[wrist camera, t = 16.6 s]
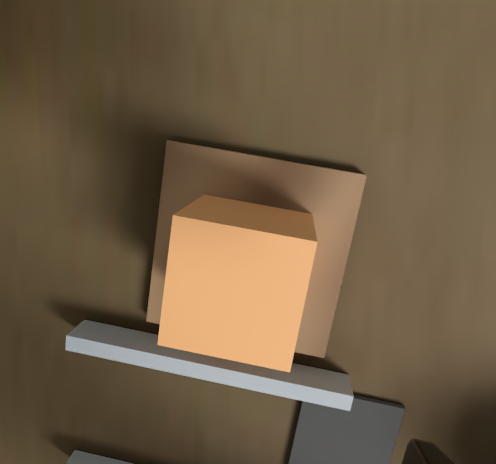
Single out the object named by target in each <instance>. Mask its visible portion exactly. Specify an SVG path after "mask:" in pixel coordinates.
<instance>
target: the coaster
mask: <svg viewBox="0 0 496 464" xmlns="http://www.w3.org/2000/svg"><path fill="white" fill-rule="evenodd" d="M366 177H367V175H365V174H361V173H356V172H350V171H344V170H338V169H333V168H327V167H321V166H315V165H310V164H304V163H298V162H292V161H287V160H281V159H275V158H270V157H264V156H258V155H252V154H247V153H241V152H235V151H229V150H224V149H218V148H212V147H206V146H201V145H195V144H189V143H183V142H178V141H172V140H167V142H166V151H165V160H164V168H163V177H162V186H161V195H160V204H159V213H158V221H157V230H156V239H155V248H154V257H153V266H152V275H151V283H150V292H149V301H148V310H147V319H146V321H147V322H152V323H157V324H160V318H161V309H162V301H163V293H164V284H165V276H166V268H167V259H168V251H169V243H170V234H171V226H172V217H173V215H174V214H175V213H177V212H178V211H180V210H181V209H183V208H184V207H186V206H187V205H189V204H190V203H192V202H193V201H195V200H197V199H198V198H200V197H201V196H203V195H209V196H215V197H221V198H226V199H232V200H237V201H243V202H248V203H254V204H259V205H265V206H270V207H276V208H282V209H287V210H293V211H298V212H304V213H309V214H312V216H313V221H314V226H315V231H316V236H317V247H316V252H315V256H314V261H313V266H312V271H311V275H310V280H309V285H308V290H307V294H306V299H305V304H304V309H303V313H302V318H301V323H300V328H299V332H298V337H297V342H296V347H295V351H294V352H297V353H302V354H306V355H311V356H316V357H321V358H324V357H325V352H326V348H327V344H328V340H329V335H330V331H331V327H332V322H333V318H334V314H335V310H336V305H337V301H338V297H339V293H340V288H341V284H342V280H343V275H344V271H345V267H346V263H347V258H348V254H349V250H350V245H351V241H352V237H353V233H354V228H355V224H356V220H357V216H358V211H359V207H360V203H361V198H362V194H363V190H364V186H365V181H366Z"/></svg>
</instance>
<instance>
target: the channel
mask: <svg viewBox="0 0 496 464" xmlns="http://www.w3.org/2000/svg"><path fill="white" fill-rule="evenodd" d="M157 343H158V335H156V334H152V333H147V332H142V331H137V330H132V329H128V328H123V327H118V326H113V325H108V324H104V323H99V322H94V321H89V320H85V319H84V320H83V321H82V322H81V323H80V324H79V325H78V326H76V327H75V328H74V329H73V330H72V331H71V332H70V333H68V334H67V335H66V348H65V350H68V351H72V352H77V353H82V354H86V355H91V356H95V357H100V358H105V359H109V360H114V361H119V362H123V363H128V364H133V365H137V366H142V367H147V368H151V369H156V370H161V371H165V372H170V373H175V374H179V375H184V376H189V377H193V378H198V379H202V380H207V381H212V382H216V383H221V384H226V385H230V386H235V387H240V388H244V389H249V390H254V391H258V392H263V393H268V394H272V395H277V396H282V397H286V398H291V399H296V400H300V401H305V402H309V403H314V404H319V405H323V406H328V407H333V408H337V409H342V410H347V411H350V409H351V405H352V401H353V398H354V395H353V390H352V386H351V381H350V377H349V375H348V374H343V373H338V372H334V371H329V370H324V369H319V368H314V367H310V366H305V365H300V364H295V363H292V366H291V370H290V373H289V372H285V371H280V370H275V369H270V368H265V367H261V366H256V365H251V364H246V363H241V362H237V361H232V360H227V359H222V358H217V357H213V356H208V355H203V354H198V353H193V352H189V351H184V350H179V349H174V348H169V347H165V346H160V345H157ZM65 464H134V463H129V462H125V461H121V460H117V459H112V458H108V457H104V456H99V455H95V454H91V453H86V452H82V451H78V450H74V452H73V453H72V455H71V456H70V458H69V459H68V460H67V462H66V463H65Z"/></svg>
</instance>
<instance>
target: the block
mask: <svg viewBox="0 0 496 464" xmlns="http://www.w3.org/2000/svg"><path fill="white" fill-rule="evenodd" d="M316 247H317V236H316V231H315V226H314V221H313V216H312V214H309V213H304V212H298V211H293V210H287V209H282V208H276V207H270V206H265V205H259V204H254V203H248V202H243V201H237V200H232V199H226V198H221V197H215V196H209V195H203V196H201V197H200V198H198V199H197V200H195V201H193V202H192V203H190V204H189V205H187V206H186V207H184V208H183V209H181V210H180V211H178V212H177V213H175V214H174V215H173V217H172V226H171V234H170V243H169V251H168V259H167V268H166V276H165V284H164V293H163V301H162V309H161V318H160V326H159V335H158V343H157V345H160V346H165V347H169V348H174V349H179V350H184V351H189V352H193V353H198V354H203V355H208V356H213V357H217V358H222V359H227V360H232V361H237V362H241V363H246V364H251V365H256V366H261V367H265V368H270V369H275V370H280V371H285V372H289V373H290V370H291V366H292V361H293V356H294V351H295V347H296V342H297V337H298V332H299V328H300V323H301V318H302V313H303V309H304V304H305V299H306V294H307V290H308V285H309V280H310V275H311V271H312V266H313V261H314V256H315V252H316Z"/></svg>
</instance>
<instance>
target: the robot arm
mask: <svg viewBox="0 0 496 464" xmlns="http://www.w3.org/2000/svg"><path fill="white" fill-rule="evenodd" d="M402 464H455V463H454V462H453V461H452V460H451V459H449V458H448V457H447V456H446V455H445V454H444V453H443V452H442V451H441V450H440V449H439V448H438V447H437V446H436V445H434V444H433V443H431V442H427V441H423V440H418V439H412V440H410V441H409V443H408V445H407V448H406V452H405V455H404V458H403V461H402Z"/></svg>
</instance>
